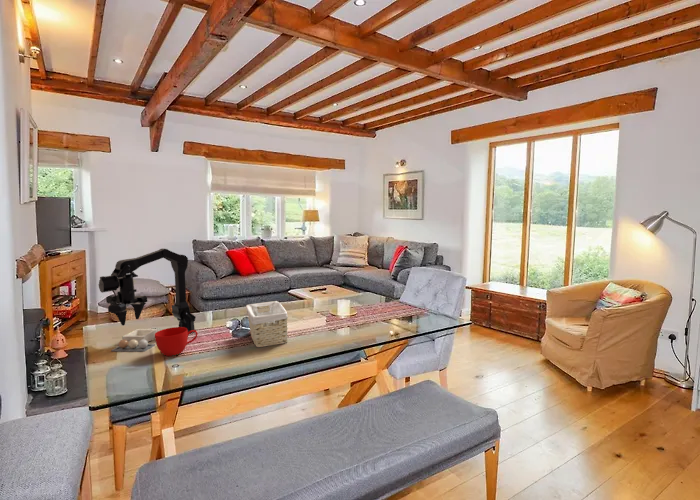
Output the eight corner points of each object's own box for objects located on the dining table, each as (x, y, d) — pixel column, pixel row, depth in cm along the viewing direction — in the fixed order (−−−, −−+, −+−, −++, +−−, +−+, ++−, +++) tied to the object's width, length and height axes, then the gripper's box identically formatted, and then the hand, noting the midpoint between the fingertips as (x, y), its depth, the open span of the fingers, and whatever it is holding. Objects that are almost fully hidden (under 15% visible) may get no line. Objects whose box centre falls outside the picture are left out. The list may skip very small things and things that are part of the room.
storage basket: (290, 343, 184) (288, 311, 182) (253, 349, 178) (251, 316, 176) (280, 328, 206) (278, 300, 204) (247, 333, 201) (245, 304, 199)
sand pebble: (140, 346, 187) (139, 338, 187) (134, 349, 183) (133, 341, 183) (132, 346, 188) (131, 338, 187) (126, 349, 184) (125, 341, 184)
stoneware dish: (158, 337, 202) (157, 329, 201) (144, 344, 191) (143, 336, 190) (138, 336, 203) (137, 329, 203) (122, 344, 193) (122, 336, 192)
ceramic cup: (201, 353, 177) (199, 330, 176) (158, 362, 169) (156, 338, 167) (196, 344, 188) (194, 323, 187) (155, 352, 180) (153, 330, 179)
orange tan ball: (131, 346, 188) (130, 338, 188) (125, 349, 184) (124, 341, 184) (123, 346, 189) (122, 338, 188) (117, 349, 185) (115, 341, 184)
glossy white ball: (150, 346, 187) (149, 338, 186) (144, 349, 183) (143, 341, 182) (142, 346, 187) (141, 338, 187) (136, 349, 183) (135, 341, 183)
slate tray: (155, 346, 189) (155, 344, 188) (144, 352, 181) (144, 350, 181) (123, 346, 191) (123, 343, 191) (111, 352, 183) (111, 350, 183)
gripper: (125, 284, 194) (128, 316, 196) (94, 293, 176) (98, 328, 178) (146, 283, 192) (149, 316, 194) (118, 292, 174) (122, 328, 176)
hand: (130, 322), depth 185 cm, fingers open, 9 cm apart
